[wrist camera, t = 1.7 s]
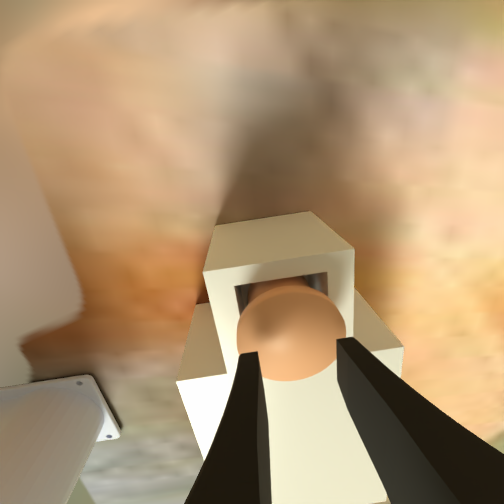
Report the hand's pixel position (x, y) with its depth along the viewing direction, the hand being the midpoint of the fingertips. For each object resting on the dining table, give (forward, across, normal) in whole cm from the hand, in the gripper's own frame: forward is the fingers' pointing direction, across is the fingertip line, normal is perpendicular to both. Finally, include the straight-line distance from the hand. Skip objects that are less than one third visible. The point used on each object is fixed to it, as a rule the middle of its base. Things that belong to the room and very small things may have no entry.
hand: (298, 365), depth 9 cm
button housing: (+10, 0, +7) cm, 12 cm away
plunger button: (+5, 0, 0) cm, 5 cm away
